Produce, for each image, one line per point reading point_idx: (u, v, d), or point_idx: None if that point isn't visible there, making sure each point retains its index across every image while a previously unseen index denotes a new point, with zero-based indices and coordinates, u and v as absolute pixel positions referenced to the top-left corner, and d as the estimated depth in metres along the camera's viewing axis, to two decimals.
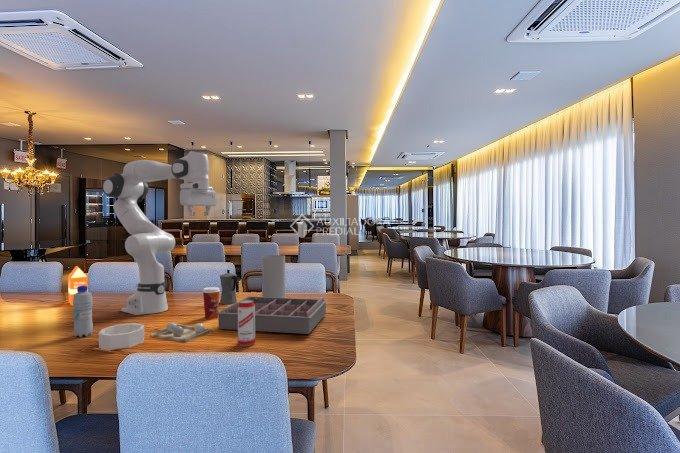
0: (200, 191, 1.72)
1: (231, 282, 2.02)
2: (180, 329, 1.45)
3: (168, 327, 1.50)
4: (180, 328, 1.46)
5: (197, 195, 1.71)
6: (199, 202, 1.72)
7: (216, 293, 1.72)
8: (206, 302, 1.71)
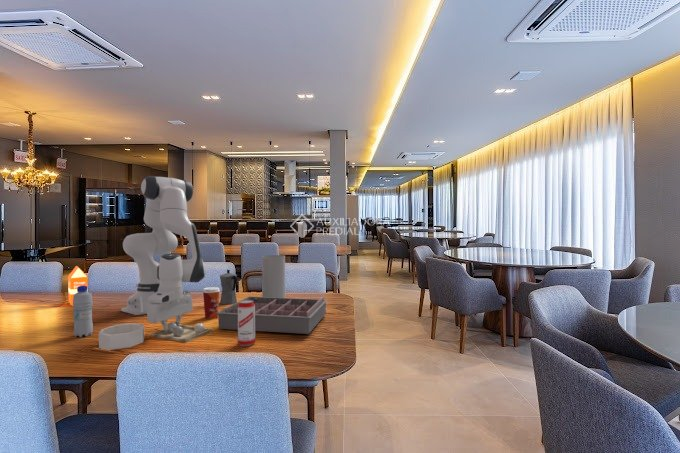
0: (172, 302, 1.49)
1: (231, 282, 2.02)
2: (180, 329, 1.45)
3: None
4: (180, 328, 1.46)
5: (168, 307, 1.48)
6: (171, 315, 1.49)
7: (216, 293, 1.72)
8: (206, 302, 1.71)
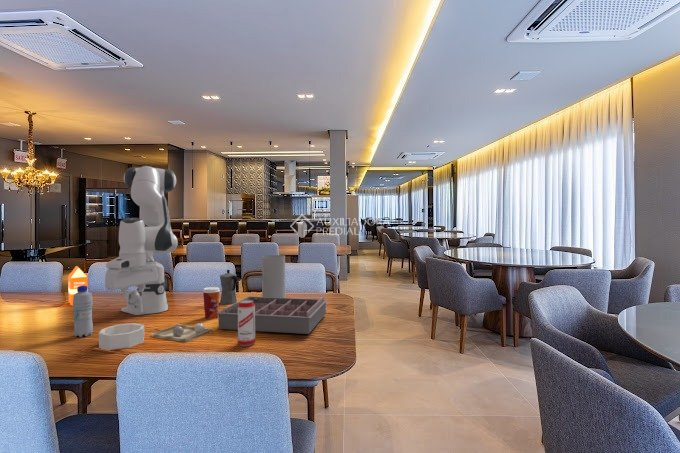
0: (133, 269, 1.38)
1: (231, 282, 2.02)
2: (180, 329, 1.45)
3: None
4: (180, 328, 1.46)
5: (129, 274, 1.38)
6: (132, 282, 1.39)
7: (216, 293, 1.72)
8: (206, 302, 1.71)
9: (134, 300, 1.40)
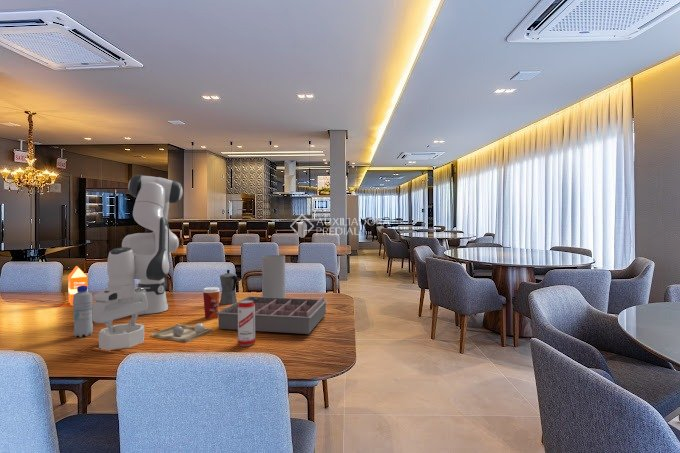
0: (121, 301, 1.36)
1: (231, 282, 2.02)
2: (180, 329, 1.45)
3: None
4: (180, 328, 1.46)
5: (117, 306, 1.36)
6: (120, 314, 1.37)
7: (216, 293, 1.72)
8: (206, 302, 1.71)
9: None
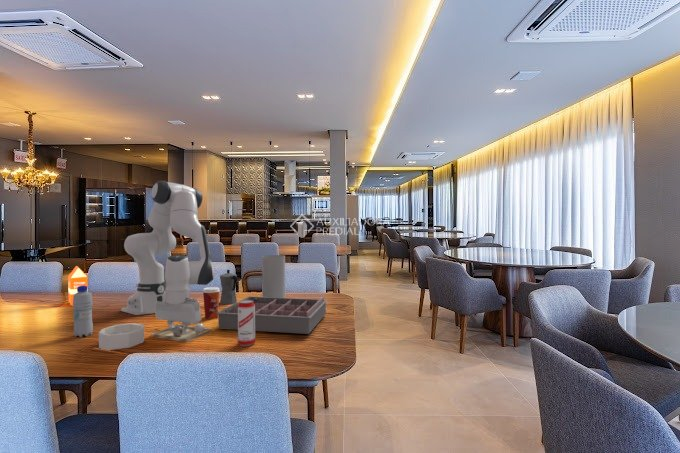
0: (169, 305, 1.45)
1: (231, 282, 2.02)
2: None
3: None
4: (180, 328, 1.46)
5: (169, 308, 1.46)
6: (170, 317, 1.45)
7: (216, 293, 1.72)
8: (206, 302, 1.71)
9: None
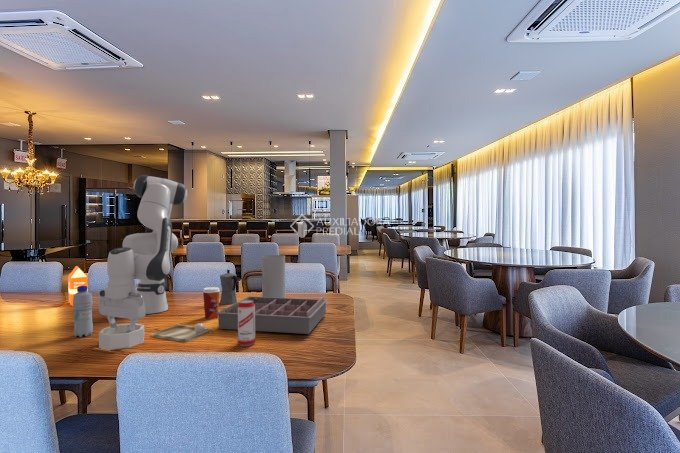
0: (111, 300, 1.38)
1: (231, 282, 2.02)
2: None
3: None
4: None
5: (112, 304, 1.39)
6: (113, 313, 1.38)
7: (216, 293, 1.72)
8: (206, 302, 1.71)
9: None
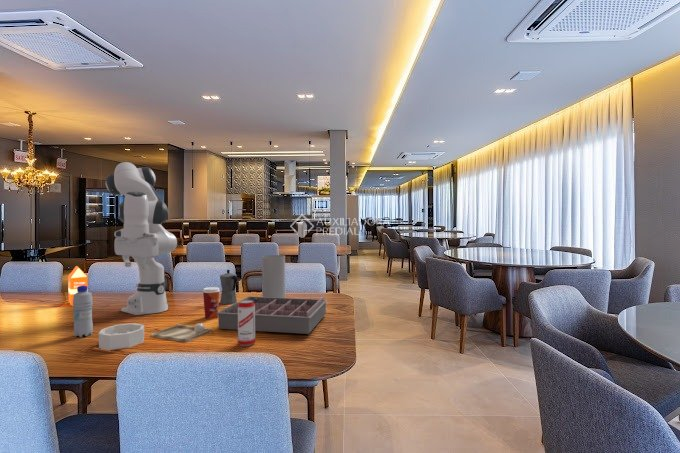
0: (127, 240, 1.47)
1: (231, 282, 2.02)
2: None
3: None
4: None
5: (128, 244, 1.48)
6: (129, 252, 1.48)
7: (216, 293, 1.72)
8: (206, 302, 1.71)
9: None
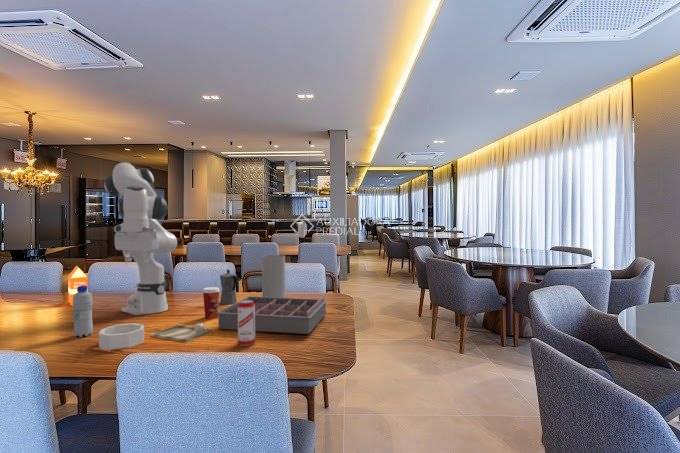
0: (127, 234, 1.48)
1: (231, 282, 2.02)
2: None
3: None
4: None
5: (128, 238, 1.49)
6: (129, 247, 1.48)
7: (216, 293, 1.72)
8: (206, 302, 1.71)
9: None
